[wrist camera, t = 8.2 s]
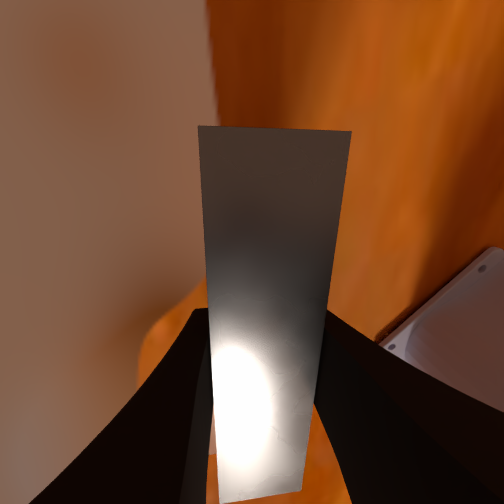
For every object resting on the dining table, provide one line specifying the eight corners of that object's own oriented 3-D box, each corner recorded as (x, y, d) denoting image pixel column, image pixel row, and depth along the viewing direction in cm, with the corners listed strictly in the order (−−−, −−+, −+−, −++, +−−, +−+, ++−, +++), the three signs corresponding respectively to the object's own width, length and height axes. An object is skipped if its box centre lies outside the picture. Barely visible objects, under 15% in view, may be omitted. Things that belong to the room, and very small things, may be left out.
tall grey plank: (209, 147, 9) (197, 125, 4) (285, 149, 9) (351, 131, 5) (219, 383, 13) (219, 504, 8) (272, 377, 13) (301, 490, 9)
